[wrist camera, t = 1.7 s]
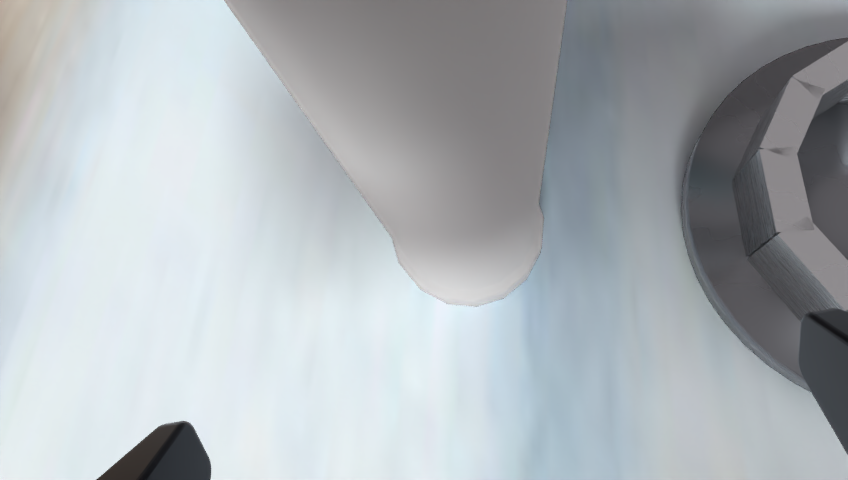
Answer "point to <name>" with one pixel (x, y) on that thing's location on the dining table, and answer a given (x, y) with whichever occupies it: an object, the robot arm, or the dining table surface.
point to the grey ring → (774, 202)
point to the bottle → (430, 122)
